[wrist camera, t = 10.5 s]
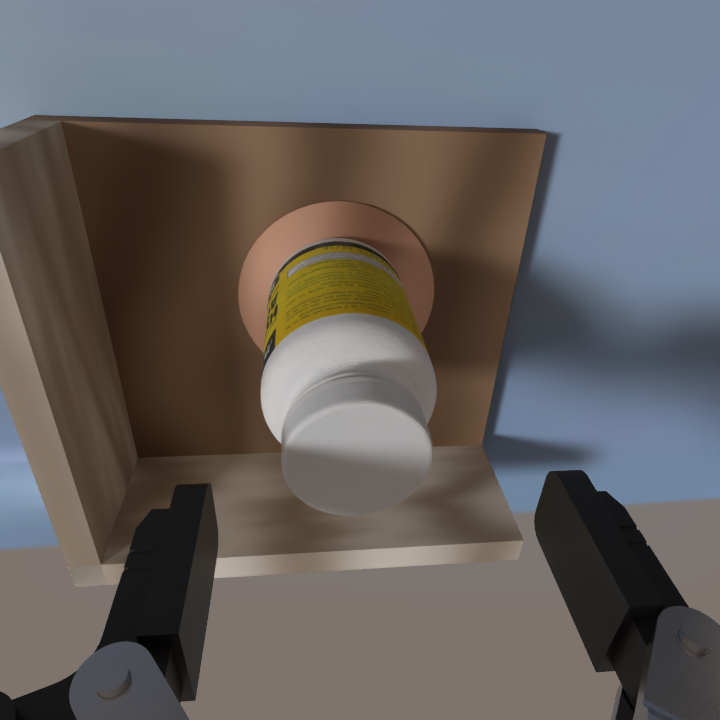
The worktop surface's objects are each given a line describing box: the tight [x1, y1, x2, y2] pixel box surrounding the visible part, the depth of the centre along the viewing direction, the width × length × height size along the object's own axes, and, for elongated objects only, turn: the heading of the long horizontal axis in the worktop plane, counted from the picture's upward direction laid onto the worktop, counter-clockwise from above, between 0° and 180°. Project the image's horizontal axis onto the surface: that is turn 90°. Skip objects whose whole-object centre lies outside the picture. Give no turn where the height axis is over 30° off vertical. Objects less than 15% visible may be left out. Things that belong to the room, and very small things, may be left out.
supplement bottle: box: [260, 238, 437, 516], centre depth 18 cm, size 5×5×10 cm
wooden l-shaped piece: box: [0, 115, 547, 587], centre depth 21 cm, size 18×16×7 cm
